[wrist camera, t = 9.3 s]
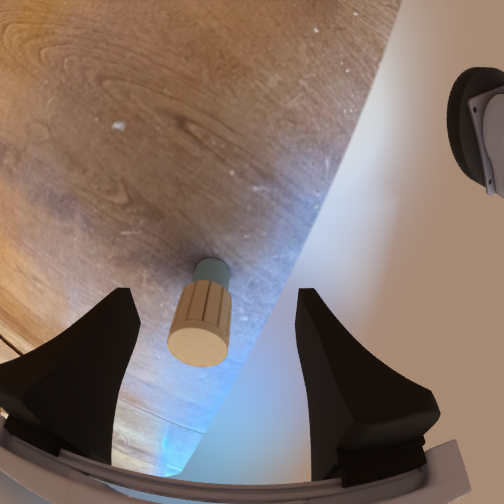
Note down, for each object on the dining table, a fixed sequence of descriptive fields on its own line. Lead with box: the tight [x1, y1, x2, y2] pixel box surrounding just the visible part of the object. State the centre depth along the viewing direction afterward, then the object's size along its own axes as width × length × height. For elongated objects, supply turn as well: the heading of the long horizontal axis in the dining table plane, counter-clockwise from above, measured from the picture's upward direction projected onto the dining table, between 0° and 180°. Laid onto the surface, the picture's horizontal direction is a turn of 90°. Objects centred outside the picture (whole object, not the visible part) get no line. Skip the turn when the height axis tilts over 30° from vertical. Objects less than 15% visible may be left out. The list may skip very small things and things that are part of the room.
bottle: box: [191, 258, 230, 291], centre depth 20 cm, size 3×3×6 cm
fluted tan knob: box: [167, 280, 232, 367], centre depth 18 cm, size 4×4×4 cm
